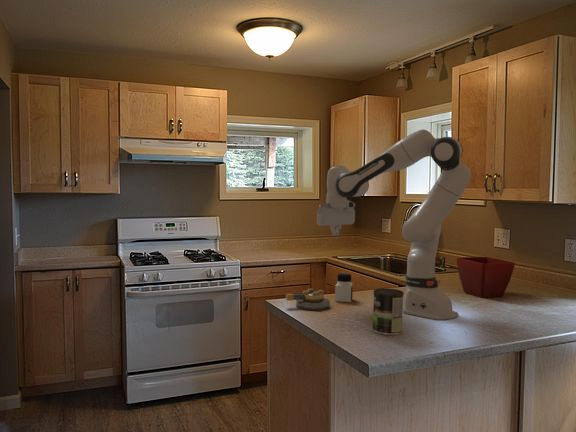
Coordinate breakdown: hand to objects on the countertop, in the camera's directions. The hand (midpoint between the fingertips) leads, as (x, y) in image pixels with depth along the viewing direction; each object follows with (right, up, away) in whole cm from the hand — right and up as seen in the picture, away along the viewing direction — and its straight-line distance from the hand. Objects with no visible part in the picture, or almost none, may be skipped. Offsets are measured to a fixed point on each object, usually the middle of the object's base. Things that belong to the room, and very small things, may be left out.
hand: (335, 235), depth 217 cm
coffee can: (+14, -32, -43) cm, 55 cm away
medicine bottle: (+4, -29, +4) cm, 30 cm away
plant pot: (+73, -30, +21) cm, 82 cm away
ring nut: (-14, -27, -10) cm, 31 cm away
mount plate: (-10, -30, -9) cm, 32 cm away
